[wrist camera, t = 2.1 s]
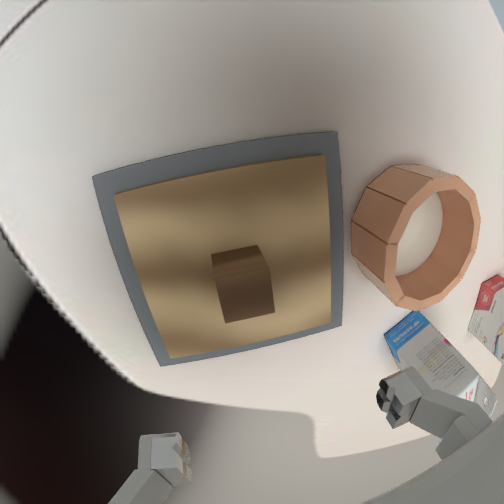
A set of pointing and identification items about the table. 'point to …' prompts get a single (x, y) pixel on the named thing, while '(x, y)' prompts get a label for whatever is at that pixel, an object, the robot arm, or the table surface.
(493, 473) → the robot arm
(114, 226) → the rubber mat
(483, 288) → the ink cartridge box
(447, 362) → the ink box
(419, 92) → the table surface
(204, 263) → the oak cover
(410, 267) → the terracotta bowl
